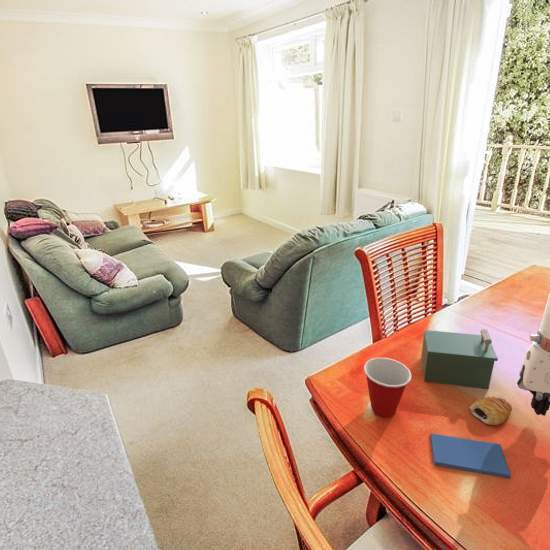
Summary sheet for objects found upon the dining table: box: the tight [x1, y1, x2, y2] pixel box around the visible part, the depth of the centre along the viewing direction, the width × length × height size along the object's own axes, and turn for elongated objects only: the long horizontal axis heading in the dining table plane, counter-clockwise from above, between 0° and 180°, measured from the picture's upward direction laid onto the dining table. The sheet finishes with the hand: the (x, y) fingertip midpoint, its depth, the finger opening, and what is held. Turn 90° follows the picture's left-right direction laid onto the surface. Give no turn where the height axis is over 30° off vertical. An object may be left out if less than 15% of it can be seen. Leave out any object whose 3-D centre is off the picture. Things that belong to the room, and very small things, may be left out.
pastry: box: [468, 396, 513, 426], centre depth 88 cm, size 9×7×4 cm
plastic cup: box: [363, 357, 412, 419], centre depth 90 cm, size 11×11×12 cm
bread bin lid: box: [423, 328, 498, 362], centre depth 99 cm, size 16×11×4 cm, turn 75°
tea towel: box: [430, 433, 512, 479], centre depth 79 cm, size 14×8×1 cm, turn 74°
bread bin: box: [420, 333, 495, 390], centre depth 101 cm, size 16×11×9 cm
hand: (538, 410), depth 85 cm, fingers closed
